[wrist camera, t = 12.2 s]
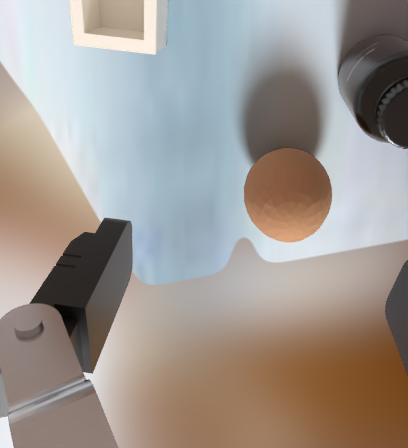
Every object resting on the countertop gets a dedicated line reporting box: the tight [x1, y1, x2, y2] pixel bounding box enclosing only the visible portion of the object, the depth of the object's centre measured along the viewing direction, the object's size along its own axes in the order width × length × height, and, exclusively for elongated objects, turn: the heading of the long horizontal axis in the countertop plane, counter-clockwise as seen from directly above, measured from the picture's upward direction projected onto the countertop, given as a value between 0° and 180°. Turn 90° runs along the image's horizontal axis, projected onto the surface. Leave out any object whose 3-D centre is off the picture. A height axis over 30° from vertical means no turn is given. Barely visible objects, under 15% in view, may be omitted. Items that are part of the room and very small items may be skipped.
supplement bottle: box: [338, 35, 408, 149], centre depth 31 cm, size 7×7×12 cm
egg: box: [244, 148, 332, 242], centre depth 38 cm, size 8×8×11 cm
